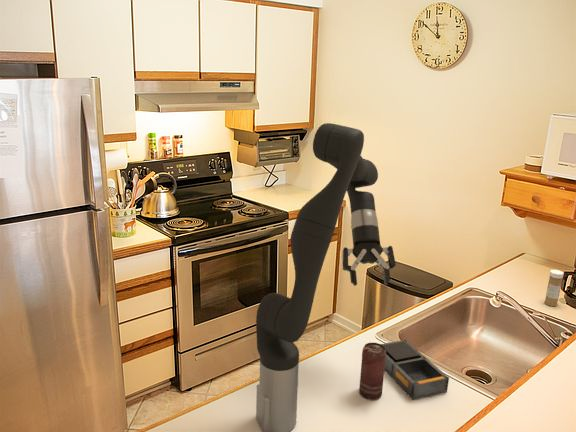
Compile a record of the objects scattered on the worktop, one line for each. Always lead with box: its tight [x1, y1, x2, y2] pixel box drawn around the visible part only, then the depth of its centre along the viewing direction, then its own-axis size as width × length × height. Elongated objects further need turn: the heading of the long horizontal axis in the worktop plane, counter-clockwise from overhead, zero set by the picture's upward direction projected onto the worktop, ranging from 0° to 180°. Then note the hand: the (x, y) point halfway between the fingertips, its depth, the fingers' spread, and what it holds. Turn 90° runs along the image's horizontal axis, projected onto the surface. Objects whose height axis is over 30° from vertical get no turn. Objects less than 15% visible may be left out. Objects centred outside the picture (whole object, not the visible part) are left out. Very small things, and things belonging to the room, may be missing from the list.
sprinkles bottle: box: [544, 269, 564, 307], centre depth 193 cm, size 5×5×14 cm
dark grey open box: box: [380, 339, 450, 401], centre depth 145 cm, size 11×21×5 cm, turn 21°
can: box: [358, 342, 386, 401], centre depth 135 cm, size 6×6×14 cm
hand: (370, 284), depth 138 cm, fingers open, 8 cm apart
